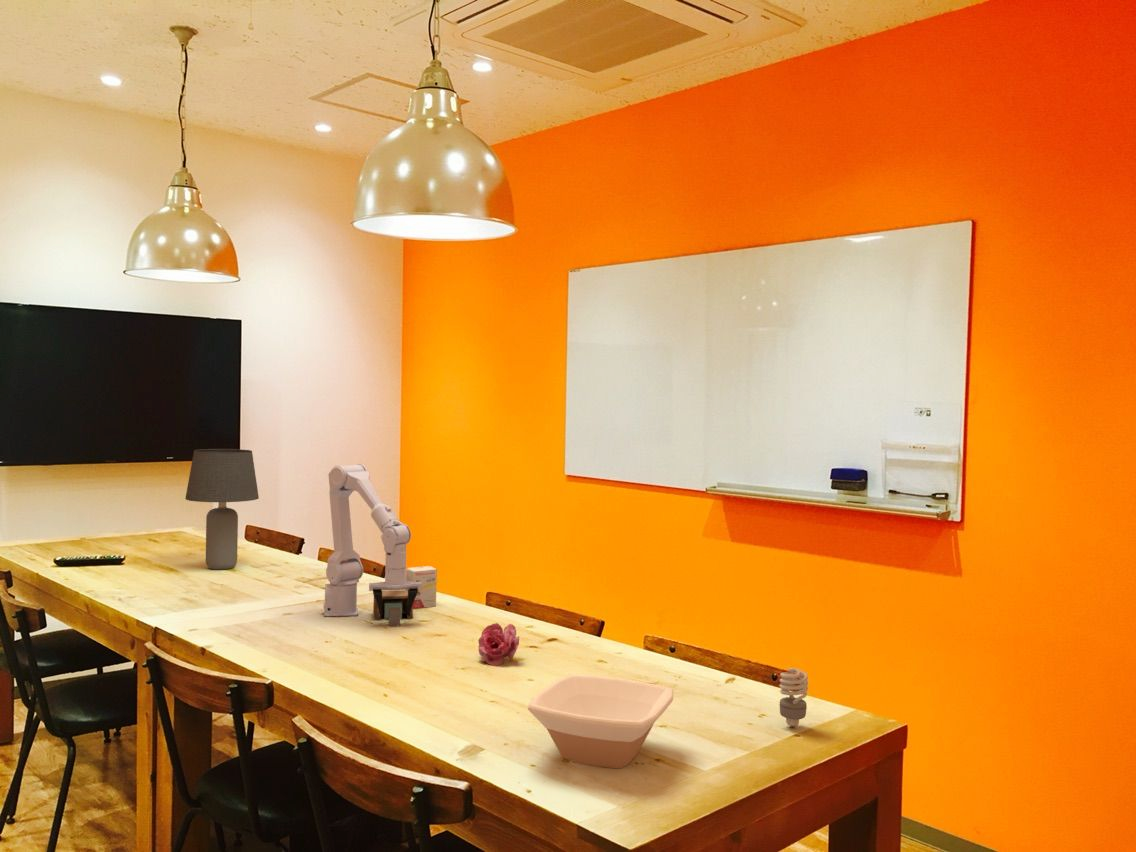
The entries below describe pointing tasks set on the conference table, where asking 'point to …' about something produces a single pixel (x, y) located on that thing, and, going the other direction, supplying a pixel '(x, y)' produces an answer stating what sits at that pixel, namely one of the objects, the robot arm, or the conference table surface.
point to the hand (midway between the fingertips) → (394, 615)
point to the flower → (498, 643)
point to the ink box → (423, 585)
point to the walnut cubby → (392, 596)
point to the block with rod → (393, 611)
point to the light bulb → (790, 705)
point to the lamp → (222, 498)
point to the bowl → (599, 717)
